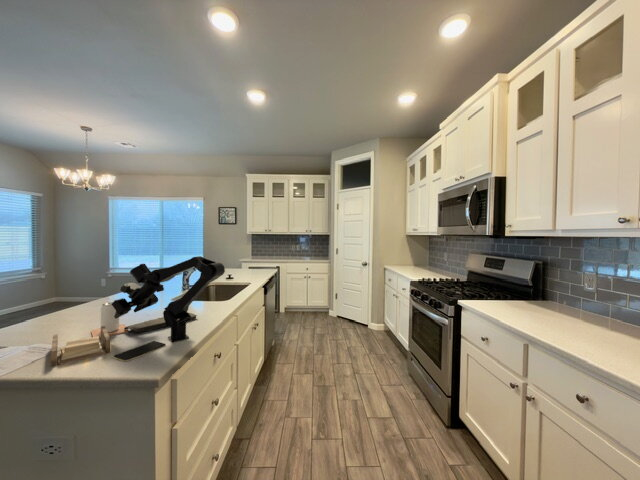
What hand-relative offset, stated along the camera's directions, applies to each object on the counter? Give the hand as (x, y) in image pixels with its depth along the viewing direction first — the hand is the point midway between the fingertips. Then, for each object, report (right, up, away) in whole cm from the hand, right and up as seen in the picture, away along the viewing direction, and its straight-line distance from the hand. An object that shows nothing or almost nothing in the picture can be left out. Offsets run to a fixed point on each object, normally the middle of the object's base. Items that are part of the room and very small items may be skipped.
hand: (125, 314), depth 115 cm
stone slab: (+10, -8, +12) cm, 17 cm away
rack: (-3, -9, -18) cm, 20 cm away
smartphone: (+19, -10, -17) cm, 27 cm away
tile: (-8, -8, +2) cm, 12 cm away
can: (-8, -8, +1) cm, 11 cm away
